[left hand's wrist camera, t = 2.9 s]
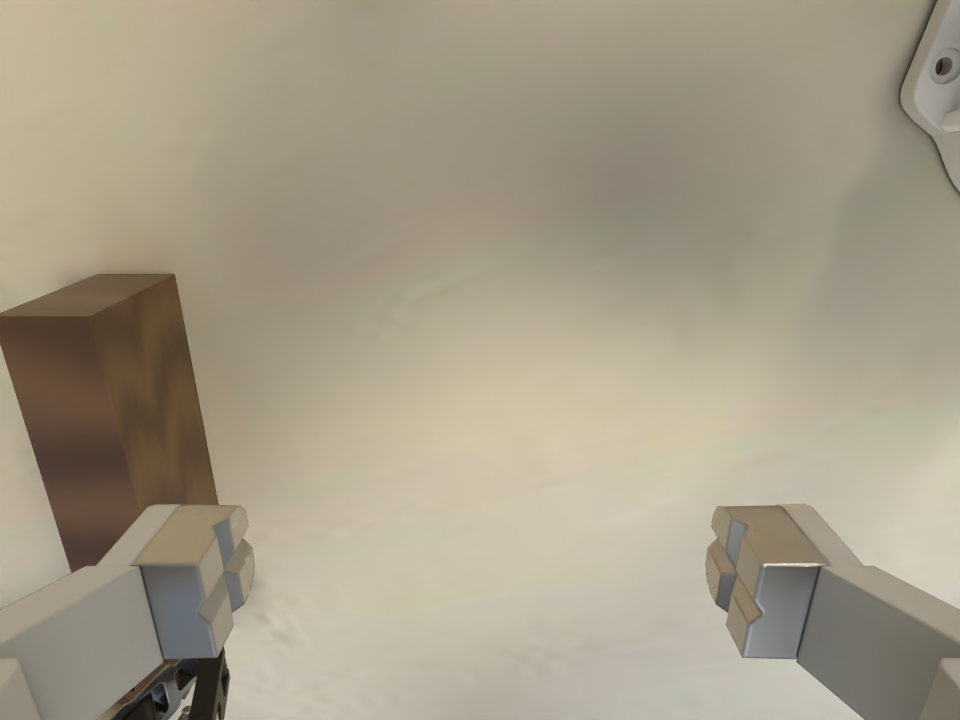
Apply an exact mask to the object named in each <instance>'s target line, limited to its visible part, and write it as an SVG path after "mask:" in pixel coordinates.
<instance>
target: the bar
mask: <svg viewBox="0 0 960 720" xmlns="http://www.w3.org/2000/svg"><path fill="white" fill-rule="evenodd" d="M0 345H1V348H2V351H3V354H4V358H5V361H6V364H7V367H8V370H9V374H10V377H11V380H12V383H13V386H14V390H15V393H16V396H17V399H18V402H19V406H20V409H21V412H22V415H23V419H24V422H25V425H26V428H27V431H28V435H29V438H30V441H31V444H32V447H33V451H34V454H35V457H36V460H37V463H38V467H39V470H40V473H41V476H42V479H43V483H44V486H45V489H46V492H47V496H48V499H49V502H50V505H51V508H52V512H53V515H54V518H55V521H56V524H57V528H58V531H59V534H60V537H61V540H62V544H63V547H64V550H65V553H66V556H67V560H68V563H69V566H70V569H71V573H73V572H75V571H77V570H79V569H81V568H83V567H85V566H96V565H97V564H98V563H99V562H100V561H101V559H102V558H103V557H104V556H105V555H106V554H107V553H108V551H109V550H110V549H111V548H112V547H113V546H114V545H115V543H116V542H117V541H118V540H119V539H120V538H121V537H122V536H123V534H124V533H125V532H126V531H127V530H128V529H129V528H130V526H131V525H132V524H133V523H134V522H135V521H136V520H137V518H138V517H139V516H140V515H141V514H142V513H143V512H144V510H145V509H146V508H147V507H149V506H152V505H155V504H181V505H184V504H192V505H218V501H217V496H216V491H215V485H214V480H213V475H212V470H211V464H210V459H209V454H208V449H207V443H206V438H205V433H204V427H203V422H202V417H201V412H200V406H199V401H198V396H197V391H196V385H195V380H194V375H193V369H192V364H191V359H190V354H189V348H188V343H187V338H186V333H185V327H184V322H183V317H182V311H181V306H180V301H179V296H178V290H177V285H176V280H175V275H174V274H97V275H95V276H92V277H90V278H87V279H85V280H82V281H80V282H77V283H75V284H72V285H70V286H67V287H65V288H62V289H60V290H57V291H55V292H52V293H50V294H47V295H45V296H42V297H40V298H37V299H35V300H32V301H29V302H27V303H24V304H22V305H19V306H17V307H14V308H12V309H9V310H7V311H4V312H2V313H0ZM180 669H181V667H180ZM180 669H179V670H180ZM179 670H178V671H179ZM178 671H177V672H178ZM177 672H176V673H177ZM191 687H192V686H191ZM191 687H190V688H189V689H188V691H187V692H186V693H185V694H184V695H183V697H182V699H185V698H186V696H187V694H188V693H189V691H190V689H191ZM150 693H151V695H152V692H151V691H150ZM152 697H153V696H152Z"/></svg>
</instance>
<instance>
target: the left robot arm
mask: <svg viewBox="0 0 960 720" xmlns="http://www.w3.org/2000/svg"><path fill="white" fill-rule="evenodd" d="M939 60H941V61H942V64H943V66H942V70H941V71H940V73H939V74H937V73H936V71H935V66H936V64H937V62H938V61H939ZM900 100H901V104H902V107H903V109H904V110H905V112H906V113H907V114H908V116H909V117H910V118H911V119H912V120H913V121H914V122H915V123H916V124H918V125H919V126H920V127H921V128H922V129H923V130H925V131H926V132H927V133H928V134H930V135H931V136H932V137H933V139H934V141H935V142H936V144H937V146H938V149H939V151H940V154H941V157H942V159H943V162H944V165H945V168H946V170H947V172H948V174H949V177H950V178H951V180H952V182H953V184H954V185H955V187H956V188H957V189H958V191H959V192H960V0H938V1H937V3H936V5H935V8H934V10H933V13H932V15H931V17H930V20H929V22H928V25H927V27H926V30H925V32H924V34H923V37H922V39H921V42H920V44H919V46H918V49H917V51H916V54H915V56H914V58H913V61H912V63H911V66H910V68H909V71H908V73H907V75H906V78H905V80H904V83H903V85H902V89H901V94H900ZM248 527H249V525H248V520H247V515H246V511H245V509H244V508H242V507H241V506H239V505H192V504H184V505H181V504H155V505H152V506H149V507H147V508H146V509H145V510H144V512H143V513H142V514H141V515H140V516H139V517H138V518H137V520H136V521H135V522H134V523H133V524H132V525H131V526H130V528H129V529H128V530H127V531H126V532H125V533H124V534H123V536H122V537H121V538H120V539H119V540H118V541H117V542H116V543H115V545H114V546H113V547H112V548H111V549H110V550H109V551H108V553H107V554H106V555H105V556H104V557H103V558H102V559H101V561H100V562H99V563H98V564H97V565H96V566H85V567H83V568H81V569H79V570H77V571H75V572H73V573H71V574H69V575H67V576H65V577H63V578H62V579H60V580H58V581H56V582H54V583H52V584H50V585H48V586H46V587H44V588H42V589H40V590H38V591H36V592H34V593H32V594H30V595H28V596H26V597H24V598H22V599H20V600H18V601H16V602H14V603H12V604H10V605H8V606H6V607H4V608H2V609H0V720H96V719H97V718H98V717H99V716H100V715H102V714H103V713H104V712H105V711H106V710H108V709H109V708H110V707H111V706H112V705H113V704H115V703H116V702H117V701H118V700H119V699H121V698H122V697H123V696H124V695H125V694H126V693H128V692H129V691H130V690H131V689H132V688H134V687H135V686H136V685H137V684H138V683H139V682H141V681H142V680H143V679H144V678H145V677H147V676H148V675H149V674H150V673H151V672H152V671H154V670H155V669H156V668H157V667H158V666H160V665H161V664H162V663H163V659H190V658H218V656H219V654H220V652H221V650H222V648H223V646H224V644H225V642H226V640H227V638H228V636H229V634H230V632H231V630H232V628H233V626H234V622H233V617H232V612H234V611H235V610H237V609H238V608H239V607H241V606H242V605H244V603H245V601H246V599H247V597H248V595H249V593H250V590H251V586H252V581H253V576H254V555H253V548H252V547H251V546H250V545H249V544H248V543H247V542H246V541H245V540H244V539H243V536H244V534H245V532H246V530H247V529H248ZM711 527H712V529H713V530H714V532H715V534H716V536H717V539H716V540H715V541H714V542H713V543H712V544H711V545H710V546H709V547H708V548H707V556H706V576H707V583H708V586H709V590H710V593H711V595H712V597H713V599H714V601H715V603H716V605H718V606H719V607H721V608H722V609H723V610H725V611H726V612H728V617H727V622H726V626H727V628H728V630H729V632H730V634H731V636H732V638H733V640H734V642H735V644H736V646H737V648H738V650H739V652H740V654H741V656H742V658H769V659H797V661H796V662H797V663H798V664H800V665H801V666H802V667H803V668H804V669H805V670H807V671H808V672H809V673H810V674H811V675H813V676H814V677H815V678H816V679H817V680H818V681H820V682H821V683H822V684H823V685H824V686H826V687H827V688H828V689H829V690H830V691H831V692H833V693H834V694H835V695H836V696H837V697H838V698H840V699H841V700H842V701H843V702H844V703H846V704H847V705H848V706H849V707H850V708H851V709H853V710H854V711H855V712H856V713H857V714H859V715H860V716H861V717H862V718H863V719H864V720H960V610H959V609H957V608H955V607H953V606H952V605H950V604H948V603H946V602H944V601H942V600H940V599H938V598H936V597H934V596H932V595H930V594H928V593H926V592H924V591H922V590H920V589H918V588H916V587H914V586H912V585H910V584H908V583H906V582H904V581H902V580H900V579H898V578H896V577H894V576H893V575H891V574H889V573H887V572H885V571H883V570H881V569H879V568H877V567H875V566H864V565H863V564H862V563H861V562H860V561H859V559H858V558H857V557H856V556H855V555H854V554H853V553H852V551H851V550H850V549H849V548H848V547H847V546H846V545H845V544H844V542H843V541H842V540H841V539H840V538H839V537H838V536H837V534H836V533H835V532H834V531H833V530H832V529H831V528H830V526H829V525H828V524H827V523H826V522H825V521H824V520H823V518H822V517H821V516H820V515H819V514H818V513H817V512H816V511H815V509H814V508H813V507H811V506H809V505H807V504H785V505H773V506H717V508H716V510H715V512H714V514H713V519H712V525H711Z"/></svg>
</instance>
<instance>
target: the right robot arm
mask: <svg viewBox="0 0 960 720" xmlns="http://www.w3.org/2000/svg"><path fill="white" fill-rule="evenodd" d="M180 667H181V669H180ZM179 669H180V670H179ZM178 670H179V671H178ZM177 671H178V672H177ZM176 672H177V673H176ZM229 680H230V675H229V670H228V668H227V664H226V659H225V650H224V646H223V648H222V650H221V652H220V654H219V656H218V658H190V659H163V663H162V664H161V665H160V666H158V667H157V668H156V669H155V670H154V671H152V672H151V673H150V674H149V675H148V676H147V677H145V678H144V679H143V680H142V681H141V682H139V683H138V684H137V685H136V686H135V687H134V688H132V689H131V690H130V691H129V692H128V693H126V694H125V695H124V696H123V697H122V698H121V699H119V700H118V701H117V702H116V703H115V704H113V705H112V706H111V707H110V708H109V709H108V710H106V711H105V712H104V713H103V714H102V715H100V716H99V717H98V718H97V719H96V720H168V719H169V718H170V717H171V716H172V715H173V714H174V713H175V712H176V711H177V709H178V708H179V706H180V703H181V699H182V697H183V695H184V694H185V693H186V692H187V691H188V689H189V688H190V687H191V686H192V685H193V684H194V683H195V682H196V685H195V690H194V695H193V700H192V705H191V706H186V707H184V708H183V710H182V715H181V716H180V717H179V719H178V720H224V715H225V708H226V701H227V694H228V687H229ZM150 691H151V692H152V695H151V693H150ZM152 696H153V697H152Z"/></svg>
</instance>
